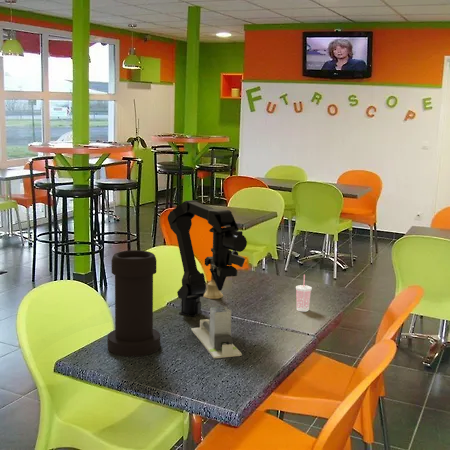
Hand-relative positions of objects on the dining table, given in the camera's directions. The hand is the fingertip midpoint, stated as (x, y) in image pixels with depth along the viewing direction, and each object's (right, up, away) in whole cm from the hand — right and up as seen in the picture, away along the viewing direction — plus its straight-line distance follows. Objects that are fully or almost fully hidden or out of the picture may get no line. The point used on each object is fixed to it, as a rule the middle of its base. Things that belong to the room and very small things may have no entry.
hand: (219, 290), depth 213 cm
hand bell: (-3, -7, +38) cm, 38 cm away
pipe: (-27, -16, -19) cm, 37 cm away
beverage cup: (+32, -10, +23) cm, 41 cm away
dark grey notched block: (+1, -17, -21) cm, 27 cm away
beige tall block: (0, -16, -18) cm, 24 cm away
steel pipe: (-1, -14, -13) cm, 20 cm away
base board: (-1, -16, -14) cm, 21 cm away
